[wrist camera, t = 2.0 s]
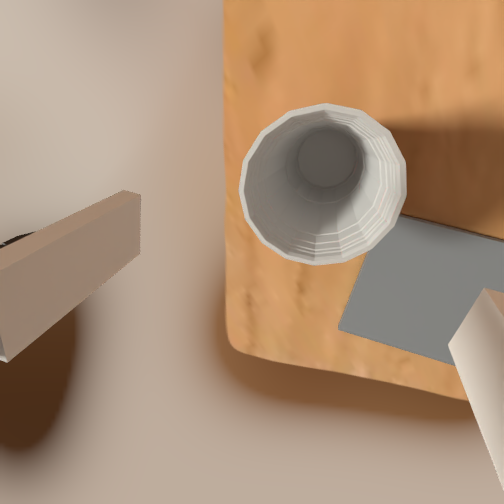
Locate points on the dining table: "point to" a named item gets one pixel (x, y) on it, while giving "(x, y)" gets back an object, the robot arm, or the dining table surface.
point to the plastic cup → (323, 184)
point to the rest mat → (422, 286)
